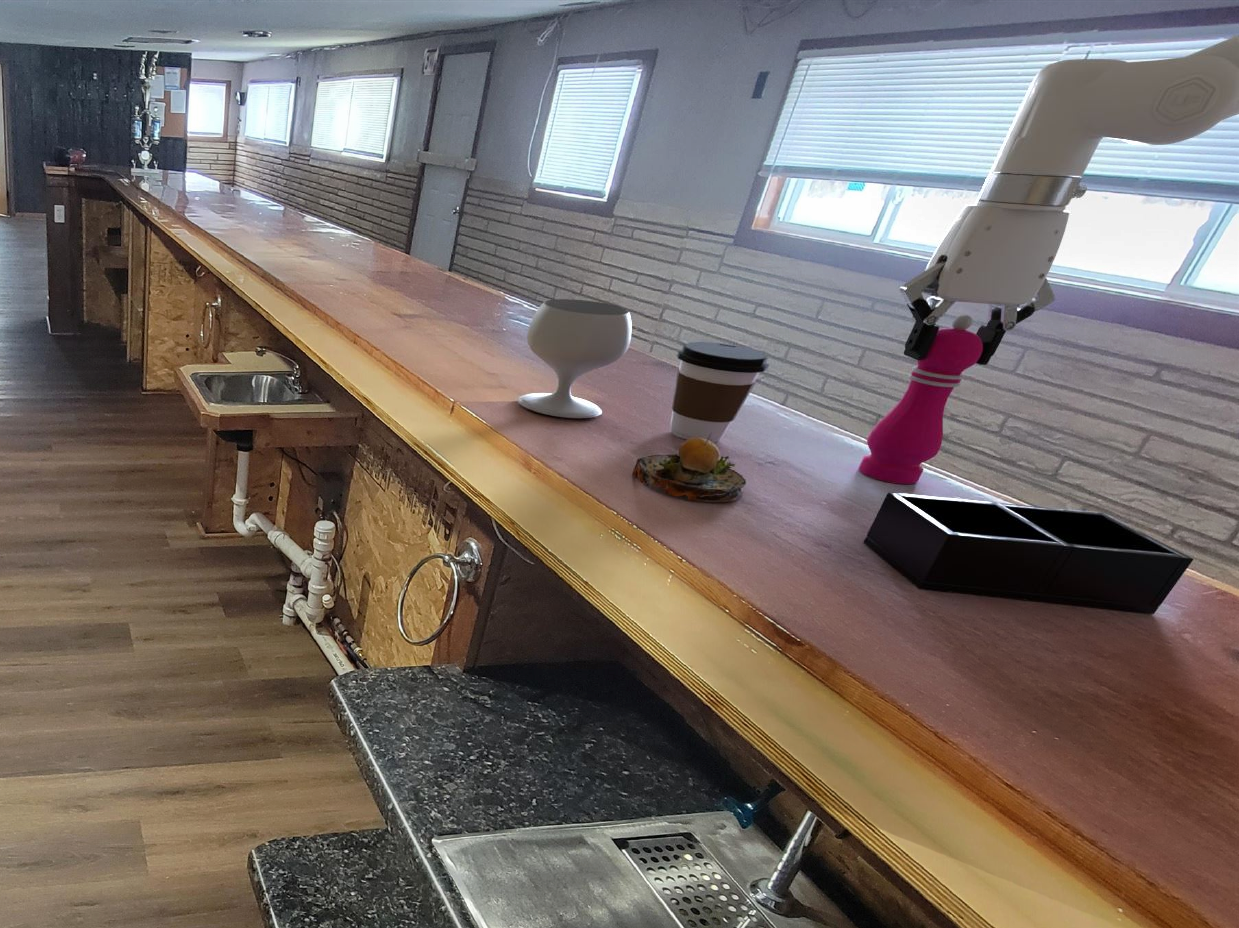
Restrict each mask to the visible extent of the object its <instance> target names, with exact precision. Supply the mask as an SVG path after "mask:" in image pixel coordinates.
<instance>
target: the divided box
mask: <svg viewBox="0 0 1239 928" xmlns="http://www.w3.org/2000/svg"><path fill="white" fill-rule="evenodd" d="M863 544H864V545H865V546H866V547H868V548H869V549H870V550H871V551H873V552H874V553H875V554H876V555H878V556H879V557H880V558H881V559H883V560H884V561H885V562H886V563H887V564H888V565H890V566H891V567H892V568H893V569H895V571H897V572H898V573H899V574H901V575H902V576H903V577H904V578H906V580H908V581H909V582H910V583H911V584H913V585H914V586H915V587H916V588H918V589H919V590H928V591H937V592H947V593H954V594H955V593H957V594H966V595H973V596H984V597H991V598H992V597H993V598H1002V599H1011V600H1019V601H1020V600H1021V601H1029V602H1040V603H1046V604H1047V603H1048V604H1056V605H1067V606H1075V607H1084V608H1093V609H1103V610H1111V611H1112V610H1113V611H1123V612H1130V613H1139V614H1140V613H1141V614H1149V615H1155V614H1156V612H1157V611H1158V609H1159V607H1161V605H1162V604H1163V602H1164V601H1165V600H1166V598H1167V597H1168V596H1169V594H1170V593H1171V592H1172V590H1173V588H1174V587H1175V586H1176V585H1177V583H1178V582H1179V580H1180V579H1181V577H1182V576H1183V575H1184V573H1185V572H1186V571H1187V570H1188V568H1189V566H1190V565H1191V564H1192V562H1194V558H1193V557H1191V556H1189V555H1187V554H1185V553H1183V552H1181V551H1179V550H1177V549H1175V548H1173V547H1172V546H1169V545H1168V544H1165V543H1163V542H1161V541H1160V540H1158V539H1156V538H1154V537H1152V536H1150V535H1148V534H1146V533H1144V532H1142V531H1140V530H1138V529H1136V528H1135V527H1133V526H1131V525H1129V524H1127V523H1125V522H1122V520H1119V519H1117V518H1115V517H1113V516H1111V515H1109V514H1107V513H1105V512H1099V511H1098V512H1097V511H1088V510H1077V509H1069V508H1067V509H1065V508H1058V507H1057V508H1056V507H1046V506H1045V507H1044V506H1036V505H1025V504H1013V503H1005V502H1004V503H1002V502H994V501H993V502H991V501H983V500H971V499H963V498H953V497H952V498H951V497H943V496H930V495H921V494H920V495H919V494H911V493H910V494H909V493H900V492H899V493H898V492H890V491H889V492H887V494H886V495H885V497H884V499H883V501H882V503H881V505H880V507H879V509H878V511H877V513H876V515H875V518H874V519H873V521H872V524H871V525H870V528H869V529H868V531H867V533H866V536H865V537H864V540H863Z"/></svg>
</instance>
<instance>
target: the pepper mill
mask: <svg viewBox="0 0 1239 928" xmlns="http://www.w3.org/2000/svg"><path fill="white" fill-rule="evenodd" d="M972 324H973V318H972V317H971V316H970V315H968V314H961V315H958V316H956V317H955V318H954V319H953V320H952V322H951V327H943V328H939V330H938V332H937V334H936V336H935V339H934V341H933V343H932V345H931V347H930V349H929V351H928V353H927V355H926V357H925V359H923V360H916V362H917V365H914V366H912V368H911V372H910V374H908V376H907V377H908V379H909V384H908V387H907V389H906V391H904V394H903V396H902V397H901V399H900V400H898V402H897V403H896V404H895V406H894V407H893V408H892V409H891V410H890V411H889V412H888V413H886V414H885V415H884V416H883V417H882V418H881V419H880V420H879V421H878V422H877V423H876V425H874V427H872V429H871V431H870V432H869V434H868V436H867V438H866V445H867V446H868V449H869V452H870V453H869V454H865V455H864V456H863V457H862V460H861V461H860V464H859V466H858V471H859V472H860V473H861V474H863V475H864V476H867V477H869V478H871V479H876V480H879V481H882V482H887V483H891V484H900V485H914V484H916V483H918V481H919V479H920V478H921V476H922V474H923V472H924V467H923V466H922V465H921V464H923V463H925V462H928V461H930V460H931V459H933V458H934V457H936V456H937V455H938V453H939V451H940V449H941V446H942V443H943V438H944V413H945V408H946V404H947V401H948V399H949V397H950V395H951V393H952V391H953V390H954V388H956V387H959V386H960V385H961V381H962V379H964V378H965V374H964V373H963V372H964V371H966V370H968V369H969V368H970V367H973V366H974V365H975V364H977V363H976V362H977V361H978V359H979V358H980V356H981V353H982V350H983V343H982V340H981V339H980V337H979V336H978V335H976V333H975V332H973V331H971V330H968V329H969V328H970V327H971V326H972Z"/></svg>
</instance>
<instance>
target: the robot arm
mask: <svg viewBox="0 0 1239 928" xmlns="http://www.w3.org/2000/svg"><path fill="white" fill-rule="evenodd" d="M1237 115H1239V34H1237V35H1235V36H1232V37H1230V38H1228V39H1225V40H1223V41H1221V42H1218V43H1216V44H1213V45H1211V46H1208V47H1205V48H1203V49H1200V50H1198V51H1195V52H1193V53H1190V54H1188V55H1186V56H1182V57H1172V58H1165V59H1154V60H1142V61H1140V60H1139V61H1126V60H1121V59H1111V58H1078V59H1077V58H1076V59H1064V60H1057V61H1054V62H1051V63H1049V64H1046V65H1045V66H1044V67H1042V68H1041V69H1040V70H1039V71H1038V72H1037V73H1036V75H1035V76H1034V78H1033V79H1032V82H1031V83H1030V85H1029V88H1028V89H1027V92H1026V94H1025V96H1024V99H1023V101H1022V102H1021V105H1020V107H1019V108H1018V110H1017V113H1016V115H1015V118H1014V120H1013V122H1012V125H1011V126H1010V128H1009V131H1008V133H1007V135H1006V137H1005V139H1004V141H1003V143H1002V146H1001V147H1000V150H999V152H998V154H997V157H996V158H995V160H994V163H993V164H992V167H991V169H990V171H989V174H988V176H987V178H986V179H985V182H984V184H983V186H982V189H981V190H980V192H979V195H978V197H977V199H976V201H975V203H974V204H970V203H969V204H964V207H963V208H962V209H961V211H960V212H959V213H958V215H957V216H956V218H955V219H954V220H953V222H952V223H951V225H949V227H948V229H947V230H946V232H945V234H944V235H943V237H942V238H941V240H940V242H939V244H938V246H937V248H936V249H935V251H934V253H933V255H932V256H931V258H930V260H929V262H928V264H927V266H926V268H925V270H924V271H923V272H921V273H920V274H918V275H916V276H915V277H913V278H912V279H910V280H908V281H907V282H905V283H904V284H902V285H901V286H900V288H899V292H900V294H901V296H902V297H903V299H904V301H905V302H906V306H907V308H908V310H909V311H910V313H911V314H912V316H911V318H912V320H913V321H915V322H914V325H913V327H912V329H911V331H910V333H909V335H908V338H907V339H906V341H905V344H904V351H903V355H904V356H906V357H908V358H910V359H912V360H916V361H917V360H923V359H925V357H926V355H927V353H928V351H929V349H930V347H931V345H932V343H933V341H934V339H935V336H936V334H937V332H938V330H939V329H940V326H939V325H936V324H937V322H938V321H939V320H940V319H941V318H942V317H943V316H944V315H945V313H946V312H947V311H948V310H950V309H951V308H952V306H953V305H954V304H956V303H969V304H970V303H971V304H972V303H973V304H985V305H986V304H987V305H988V313H987V314H988V316H987V324H981V325H980V327H978V329H977V331H976V333H975V334H976V335H978V336H979V337H980V339H981V340H982V343H983V350H982V353H981V356H980V358H979V359H978V361H977V362H976V363H975V364H977V365H981V366H987V365H988V364H989V362H990V360H991V359H992V357H993V356H994V355H995V354H996V351H997V349H998V347H999V346H1000V344H1001V342H1002V340H1003V338H1004V336H1005V334H1006V332H1009V331H1012V330H1013V329H1015V328H1016V325H1017V324H1020V323H1021V322H1023V321H1025V320H1026V319H1027V318H1029V317H1032V316H1033V314H1034V313H1035V312H1038V311H1040V310H1042V309H1044V308H1046V307H1047V306H1049V305H1050V304H1052V303H1054V301H1055V300H1056V295H1055V293H1054V291H1053V289H1052V286H1051V285H1050V283H1049V281H1048V279H1047V277H1048V275H1049V272H1050V270H1051V268H1052V266H1053V263H1054V261H1055V259H1056V256H1057V254H1058V252H1059V249H1060V246H1061V243H1062V241H1063V238H1064V235H1065V232H1066V228H1067V225H1068V222H1069V216H1070V213H1071V211H1069V210H1066V208H1067V206H1068V205H1069V204H1070V202H1071V200H1073V199H1080V198H1082V197H1084V196H1085V194H1086V192H1087V189H1088V187H1087V185H1086V184H1080V183H1081V182H1082V177H1083V175H1084V174H1085V171H1086V169H1087V168H1088V165H1089V164H1090V162H1091V160H1092V158H1093V156H1094V154H1095V153H1096V151H1097V148H1098V146H1099V144H1100V142H1101V141H1102V140H1103V139H1104V138H1105V139H1114V140H1121V141H1123V142H1126V143H1128V144H1131V145H1137V146H1164V145H1165V146H1167V145H1171V144H1176V143H1180V142H1183V141H1187V140H1190V139H1192V138H1194V137H1197V136H1200V135H1201V134H1203V133H1205V132H1207V131H1208V130H1209V131H1210V129H1212V128H1213V127H1215V126H1217V125H1218V124H1219V123H1220V122H1221V121H1224V120H1226V119H1229V118H1231V117H1235V116H1237ZM923 294H924V295H927V296H928V297H927V298H926V299H925V298H924V295H923Z"/></svg>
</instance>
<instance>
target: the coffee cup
mask: <svg viewBox="0 0 1239 928" xmlns="http://www.w3.org/2000/svg"><path fill="white" fill-rule="evenodd" d="M676 358H677V359H678V360H680V363H679V368H678V369H677V372H676V373H677V374H676V379H675V384H674V392H673V398H672V404H671V411H672V412H671V417H670V418H671V419H670V429H671V433H672V434H673V436H675V437H677V438H680V439H683V440H685V441H687V440H689V439H691V438H703V439H707V440H708V437H709V436H710V438H709V441H711V442H713V443H717V442H718V441H719V440H721V439H722V438H723V437H724V436H725V435H726V432H727V430H728V429H729V427H730V426H731V423H732V422H733V421H734V420H736V417H737V416H738V414H739V412H740V411H741V409H742V407H743V406H744V404H745V402H746V400H747V399H748V396H749V395H750V393H751V392H752V390H753V388H754V387H755V385H756V380H757V379H758V377H759V375H760V373H763V372H766V371H768V369H769V366H770V364H769V363H768V362H767V361H768V359H769V358H768V356H767V355H766V354H765V353H764V352H761V351H760V350H757V349H754V348H749V347H745V346H741V345H735V344H729V343H722V342H713V341H711V342H710V341H694V342H693V341H692V342H688V343H685V344H684V345H683V346H682V348H681V349H680V350H678V351H677V352H676ZM711 432H712V433H711ZM710 434H711V435H710Z"/></svg>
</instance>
